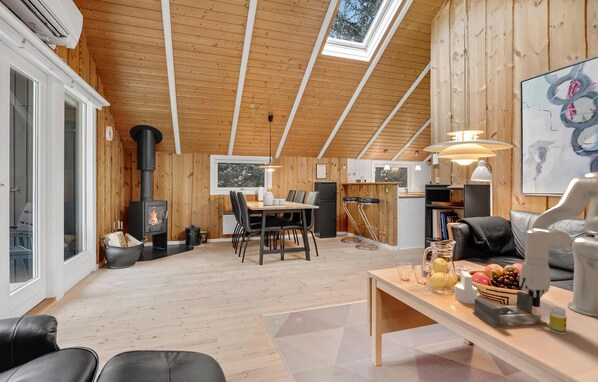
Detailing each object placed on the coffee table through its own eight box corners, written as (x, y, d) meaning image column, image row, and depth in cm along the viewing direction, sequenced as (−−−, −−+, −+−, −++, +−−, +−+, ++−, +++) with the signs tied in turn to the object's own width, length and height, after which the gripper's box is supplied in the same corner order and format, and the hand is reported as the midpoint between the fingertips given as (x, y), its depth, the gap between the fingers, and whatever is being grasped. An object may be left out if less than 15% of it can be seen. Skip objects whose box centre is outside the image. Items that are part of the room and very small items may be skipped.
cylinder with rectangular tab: (479, 304, 135) (480, 278, 135) (456, 302, 138) (457, 276, 138) (474, 297, 144) (475, 272, 143) (453, 294, 147) (453, 270, 146)
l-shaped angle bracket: (520, 312, 125) (521, 291, 125) (539, 322, 116) (540, 299, 116) (501, 313, 124) (502, 291, 124) (520, 323, 115) (520, 300, 115)
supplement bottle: (567, 335, 108) (568, 312, 108) (550, 332, 111) (551, 309, 111) (564, 330, 113) (565, 307, 112) (548, 326, 115) (549, 305, 115)
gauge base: (520, 311, 129) (520, 295, 129) (546, 324, 117) (547, 307, 117) (472, 313, 126) (473, 297, 126) (494, 327, 114) (495, 310, 114)
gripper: (544, 258, 127) (542, 301, 127) (511, 259, 125) (510, 302, 126) (561, 263, 119) (559, 309, 120) (527, 264, 117) (525, 310, 118)
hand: (534, 305), depth 123 cm, fingers closed
